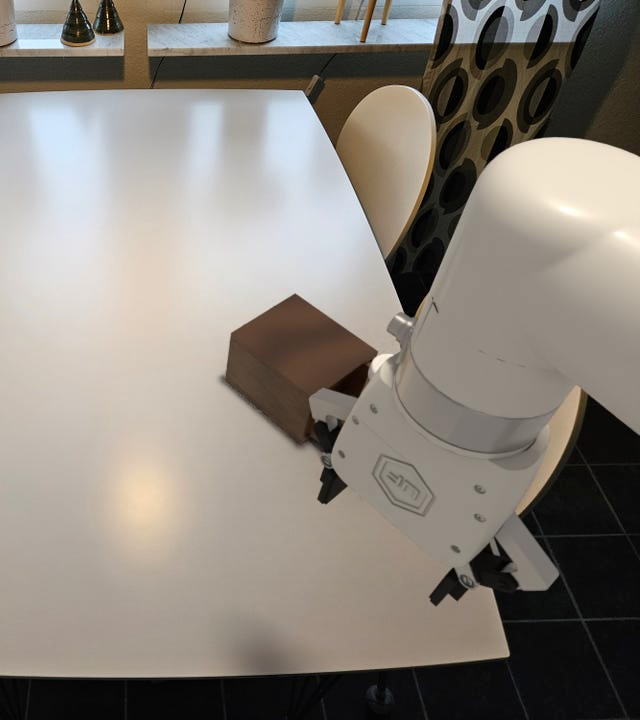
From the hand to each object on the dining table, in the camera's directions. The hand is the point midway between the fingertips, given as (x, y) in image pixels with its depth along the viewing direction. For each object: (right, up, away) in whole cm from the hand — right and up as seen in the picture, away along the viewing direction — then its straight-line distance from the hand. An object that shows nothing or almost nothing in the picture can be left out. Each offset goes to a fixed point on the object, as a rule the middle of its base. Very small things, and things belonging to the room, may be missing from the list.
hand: (386, 538), depth 46 cm
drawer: (+12, +1, +38) cm, 40 cm away
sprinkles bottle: (+11, +3, +38) cm, 40 cm away
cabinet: (+3, +9, +46) cm, 47 cm away
